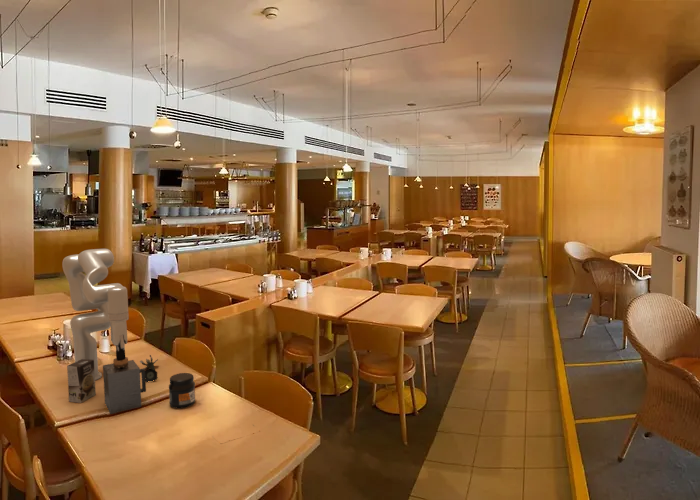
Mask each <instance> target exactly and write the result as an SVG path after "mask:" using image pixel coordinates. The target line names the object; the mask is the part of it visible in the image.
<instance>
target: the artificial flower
mask: <svg viewBox="0 0 700 500" xmlns="http://www.w3.org/2000/svg"><path fill="white" fill-rule="evenodd" d="M149 357H150V359H148V358H146V359H145V361H146V362H144V361H143V360H139V363H140V364H141V365H143V366H146V367H145V380H146V383H147V382H148V381H153V380H154V381H153V382H155V381H156V380H157V379H158V372H157V370H156V368H155V365H154V364H155V363H157V362H158V361H159V359H158V358H157V359H156V360H155V361H153V357H152V354H149ZM147 368H148V369H147ZM148 383H149V382H148Z"/></svg>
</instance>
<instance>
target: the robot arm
mask: <svg viewBox="0 0 700 500" xmlns="http://www.w3.org/2000/svg"><path fill="white" fill-rule="evenodd" d="M114 262H115V256H114V253H113V252H112V251H111V250H110V249H109V248H94V249H93V248H91V249H85V250H83V251H81V252H80V253H79V254H77V253H76V254H70V255H68V256H65V257H64V258H63V260H62V270H63V271H62V272H63V273H64V275H65V278H66V280H67V282H68V288H69V294H70V295H69V296H70V302H71V307H72V309H73V310H74V311H76V312H83V311H90V310H91V312H84V313H79V314H77V315H76V314H75V315H74V316H73V317H71V319H70V323H69V325H70V329H71V333H72V338H73V349H74V362H77V361H79V360H81V359H88V360H94V373H95V381H99V380H100V379H101V378H102V377H103V372H100V371H99V364H98V363H99V360H98V345H97V339H96V338H94V336H93V335H91V334H92V333H97V332H103V331H106V330H110V342H111V343H112V344H113V346H115V349H116V350H115V358H116V359H117V360H123V359H125V357H126V349H125V348H126V347H125V346H126V345H127V344H128V326H127V321H128V320H129V316H130V315H129V300H128V298H129V297H128V288H127V287H126V286H123V285H122V284H121V283H119V282H116V283H115V282H114V283H107V284H99V283H100V282H102V281H104V280H105V279H106V278H107V277H108V275H109V268H110V267H112V266H113V265H114ZM97 284H98V285H97ZM92 310H97V311H92Z"/></svg>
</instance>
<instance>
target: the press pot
mask: <svg viewBox="0 0 700 500" xmlns="http://www.w3.org/2000/svg"><path fill="white" fill-rule="evenodd" d="M145 370H146V368H145V367H143V368H140V367H139V365H138V364H137V363H136V361H135V360H134V359H132V360H131V359H130V360H128V366H126V367H123V368H114V364H113V363H108V364H103V365H102V377H103V378H102V379H103V389H104V391H103V392H104V404H106V405H105V407H106V406H107V407H106V409H107V408H108V409H107V410H109V411H108V413H109V414H110V415H112V414H116V413H119V412H123V411H124V412H125V411H128V410H133V409H137V408H142V394H143V393H146V392H147V386H146V385H147V384H146V383H147V382H146V380H145V379H146V378H145Z"/></svg>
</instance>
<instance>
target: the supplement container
mask: <svg viewBox="0 0 700 500" xmlns="http://www.w3.org/2000/svg"><path fill="white" fill-rule="evenodd" d="M195 387H196V383H195V381H194V375H193V374H192V373H190V372H189V373H187V372H180V373H176V374H173V375H171V376H170V377H169V385H168V391H169V392H168V393H169V394H168V396H169V397H168V398H169V401H168V402H169V405H170V407H172V408H174V409H186V408H190V407H192V406H193V405H194V404H195V402H196V389H195Z"/></svg>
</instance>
